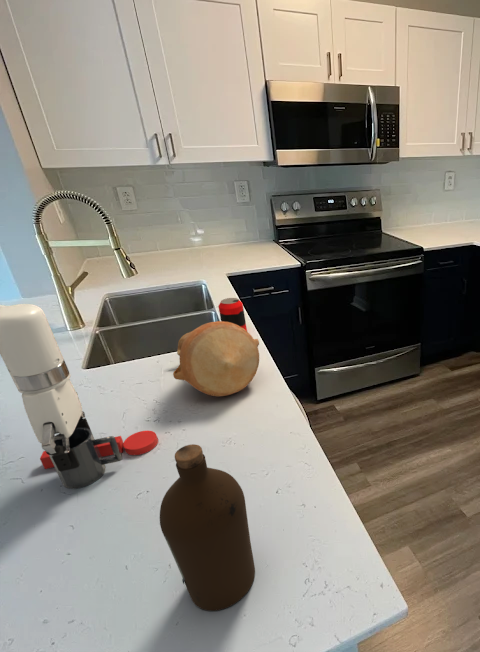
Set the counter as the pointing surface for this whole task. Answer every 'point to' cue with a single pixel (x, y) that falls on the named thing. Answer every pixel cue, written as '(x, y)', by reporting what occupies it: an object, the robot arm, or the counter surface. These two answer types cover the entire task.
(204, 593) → the olive oil
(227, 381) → the jug
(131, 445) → the spoon
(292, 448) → the counter surface
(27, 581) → the counter surface
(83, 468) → the mug
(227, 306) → the soda can
